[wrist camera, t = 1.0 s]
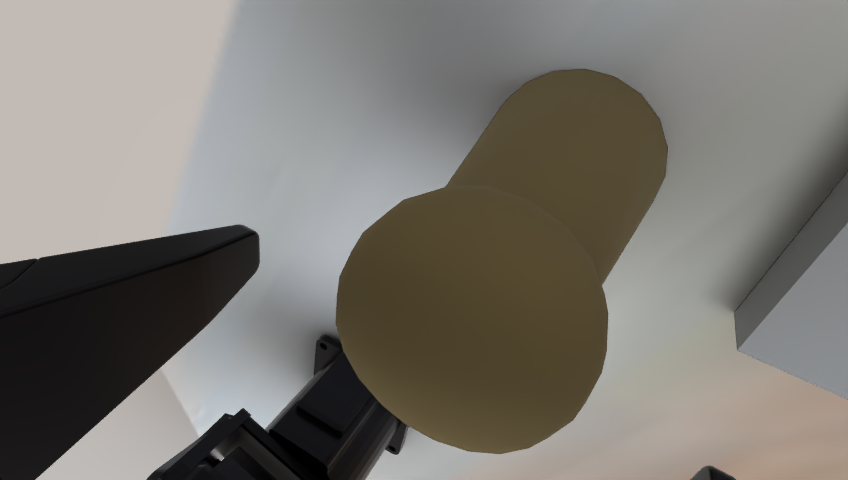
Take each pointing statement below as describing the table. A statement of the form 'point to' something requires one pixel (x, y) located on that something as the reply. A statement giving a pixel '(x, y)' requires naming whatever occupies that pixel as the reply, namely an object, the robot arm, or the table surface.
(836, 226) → the plinth
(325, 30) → the table surface
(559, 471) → the table surface
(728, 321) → the table surface
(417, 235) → the cork
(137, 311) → the robot arm
